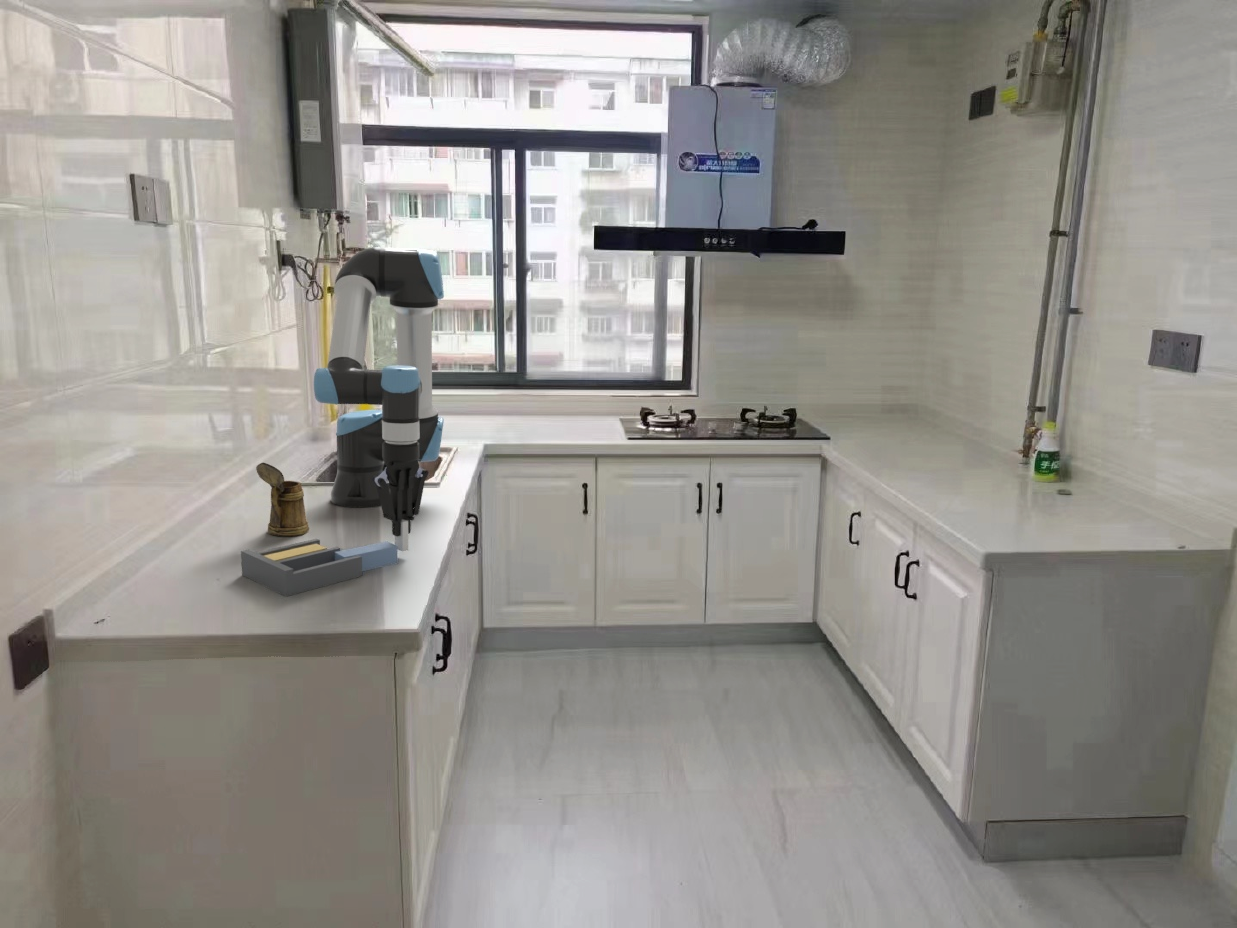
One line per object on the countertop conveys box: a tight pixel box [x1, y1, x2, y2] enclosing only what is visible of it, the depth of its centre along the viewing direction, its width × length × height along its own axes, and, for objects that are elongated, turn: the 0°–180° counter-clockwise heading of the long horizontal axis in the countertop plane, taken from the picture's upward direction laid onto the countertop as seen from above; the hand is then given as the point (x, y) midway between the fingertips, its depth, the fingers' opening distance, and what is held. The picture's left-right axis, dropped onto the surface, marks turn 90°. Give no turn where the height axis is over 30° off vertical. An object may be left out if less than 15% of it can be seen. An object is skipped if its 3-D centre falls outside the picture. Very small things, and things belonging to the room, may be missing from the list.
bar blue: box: [335, 541, 398, 572], centre depth 185 cm, size 12×4×4 cm, turn 135°
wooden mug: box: [255, 462, 310, 538], centre depth 202 cm, size 9×14×18 cm, turn 168°
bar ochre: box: [265, 544, 328, 561], centre depth 181 cm, size 12×4×4 cm, turn 140°
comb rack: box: [240, 538, 363, 597], centre depth 178 cm, size 17×16×5 cm
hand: (401, 549), depth 192 cm, fingers closed
